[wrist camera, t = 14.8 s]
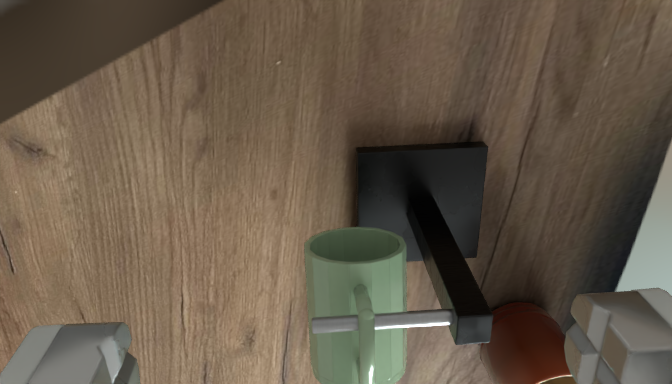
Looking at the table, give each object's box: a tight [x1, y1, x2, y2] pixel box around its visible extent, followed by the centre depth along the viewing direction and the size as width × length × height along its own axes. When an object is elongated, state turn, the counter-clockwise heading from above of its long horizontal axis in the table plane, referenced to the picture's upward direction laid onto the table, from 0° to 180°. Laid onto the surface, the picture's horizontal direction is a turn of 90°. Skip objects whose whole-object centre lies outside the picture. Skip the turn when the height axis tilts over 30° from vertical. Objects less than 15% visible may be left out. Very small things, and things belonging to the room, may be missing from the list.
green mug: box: [304, 227, 407, 384], centre depth 35 cm, size 10×7×9 cm
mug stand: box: [311, 142, 493, 345], centre depth 37 cm, size 10×14×16 cm
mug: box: [478, 302, 577, 384], centre depth 47 cm, size 12×9×10 cm
